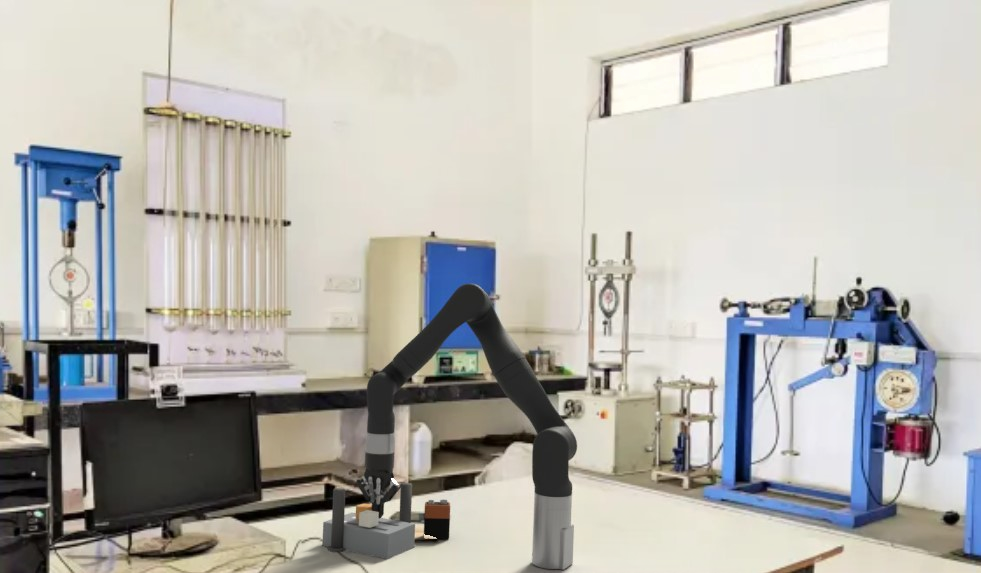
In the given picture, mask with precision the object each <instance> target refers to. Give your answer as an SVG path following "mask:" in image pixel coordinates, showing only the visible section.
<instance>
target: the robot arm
mask: <svg viewBox="0 0 981 573" xmlns="http://www.w3.org/2000/svg"><path fill="white" fill-rule="evenodd" d="M465 323H466V324H467V325H468V327H469V328H470V329H471V331H472V332H473V334H474V335H475V337H476V338H477V339H478V341H479V344H480V346H481V348H482V351H483V353H484V357H485V360H486V362H487V364H488V366H489V369H490V371H491V373H492V374H493V377H494V379H495V380H496V382H497V383H498V385H499V387H500V389H501V390H502V391H503V394H504V395H505V396H506V397H507V398H508V399H509V400H510V401H511V402H512V404H513V405H514V406H516V407H517V408H518V409H519V410H520V411H521V412H522V413H523V414H524V415H525V416H526V418H527V419H528V420H529V422H530V423H531V425H532V428H534V431H535V432H536V434H537V435H536V436H535V438H534V440H533V443H532V453H531V455H532V457H531V458H532V459H531V461H532V462H531V467H532V468H531V470H532V471H531V474H532V476H531V477H532V483H533V486H534V497H533V498H534V502H533V523H532V524H533V525H532V551H531V552H532V553H531V556H532V557H531V563H532V565H533V566H535V567H537V568H541V569H547V570H566V569H567V568H569V567H570V566H571V565H573V564H574V563H573V562H574V538H575V535H574V534H575V525H574V524H572V507H573V506H572V503H573V483H572V481H571V480H570V478H569V477H570V476H569V468H570V467H569V464H570V462H569V461H571V460H572V459H573V458H574V457H575V455H577V454H576V453H577V449H578V443H577V441H578V440H577V438H576V436H575V434H574V432H573V431H572V429H571V428H570V426H569V425H568V424H567V423H566V422H565V420H564V419H563V418H562V416H561V415H560V413H559V412H558V411H557V409H556V408H555V406H554V405H553V404H552V402H551V400H550V399H549V397H548V394H547V393H546V390H545V389H544V388H543V386H542V384H541V383H540V380H539V379H538V377H537V376H536V373H535V372H534V370H533V368H532V367H531V365H530V362H528V360H527V359H526V357H525V354H524V353H523V352H522V351H521V349H520V348H519V346H518V345H517V344H516V342H515V341H514V339H513V338H512V336H510V334H509V333H508V332H507V330H506V329H505V327H504V326H503V324H502V322H501V320H500V317H499V316H498V314H497V311H496V309H495V307H494V305H493V303H492V300H491V298H490V296H489V294H488V293H487V292H486V291H485V290H484V289H483V288H482V287H481V286H480V285H477V284H475V283H469V282H468V283H465V284H462V285H460V286H458V287H457V288H456V290H455V291H454V292H453V293H452V295H451V296H450V297H449V298H448V300H447V301H446V302H445V304H444V305H443V306H442V308H441V309H440V310H439V311H438V312H437V313H436V314H435V316H434V317H433V318H432V319H431V320H430V321H429V323H428V324H427V325H426V326H425V327H424V328H423V329H422V330H421V331H420V332H419V333H418V334H417V335H415V336H414V337H413V339H411V340H410V341H409V342H407V344H406V345H405V346H404V347H403V348H402V349H400V351H398V353H397V354H396V355H395V356H394V357H393V359H392V360H391V361H390V362H389V363H388V364H387V365H386V366H384V368H383V367H382V369H381V370H380V371H379V372H378V373H376V374H374V375H372V376H371V377H370V378H369V380H368V382H367V384H366V385H367V386H366V404H367V405H366V406H367V422H366V424H367V425H366V426H367V427H366V437H365V449H364V468H365V470H364V473H363V476H362V477H360V478H358V479H356V482H355V483H356V484H357V486H358V487H359V490H360V492H361V493H362V496H363V497H364V498H365V500H366V501H370V504H371V505H372V511H376V512H379V518H383V516H384V513H385V503H388V502H390V501H392V499H393V498H394V497H395V495H396V494H397V493H398V492H399V490H401V483H400V482H397V481H396V480H395V475H394V472H393V471H394V468H395V446H396V445H395V444H396V440H395V423H396V422H395V421H396V420H395V419H396V418H395V417H396V416H395V411H394V395H395V394H397V392H398V391H399V390H401V388H402V387H403V386H404V385H405V384H406V383H407V382H408V381H409V380H410V378H412V377H413V376H414V375H416V374H417V373H418V372H419V371H420V370H421V369H422V368H423V367H424V366H426V365H427V363H428V362H430V361H431V359H432V358H434V356H435V355H436V354H437V353H438V351H439V349H440V348H441V347H442V346H443V344H444V343H445V341H446V340H447V339H448V338H449V337H450V336H451V334H453V333H454V332H455V331H456V330H457V329H458V328H460V327H461V326H462V325H464V324H465ZM388 488H389V489H388Z"/></svg>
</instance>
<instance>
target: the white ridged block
mask: <svg viewBox="0 0 981 573" xmlns="http://www.w3.org/2000/svg"><path fill="white" fill-rule="evenodd" d="M378 521H379V512H376V511H370V510H366V511H363V512H360V513H359V526H363V527H369V528H371V527H374V526H376V525H378Z"/></svg>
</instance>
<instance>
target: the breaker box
mask: <svg viewBox="0 0 981 573" xmlns="http://www.w3.org/2000/svg"><path fill="white" fill-rule="evenodd" d="M331 534H332V518H331V519H327V520H325V521H323V523H322V547H327V548H328V546H330V545H331ZM415 535H416V523H413V522H411V523H408V522H402V521H399V520H396V519H391V518H385V517H381V518H379V521H378V525H376V526H374V527H371V528H369V527H363V526H359V519H356V512H349V513H346V514H344V530H343V548H345V551H346V552H351V553H356V554H361V555H365V556H371V557H375V558H382V559H385V560H386V559H387V560H388V559H392V558H393V557H396V556H398V555H400V554H403V553H405V552H407V551H410V550H411V549H413V548H415V541H416V540H415V538H416V537H415Z"/></svg>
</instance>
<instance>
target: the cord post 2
mask: <svg viewBox="0 0 981 573" xmlns="http://www.w3.org/2000/svg"><path fill="white" fill-rule="evenodd" d="M400 484H401V488H400V493H399V494H400V496H399V520H398V521H402V522H408V523H412V503H413V502H412V501H413V500H412V498H413V483H411V482H402V483H400Z"/></svg>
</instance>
